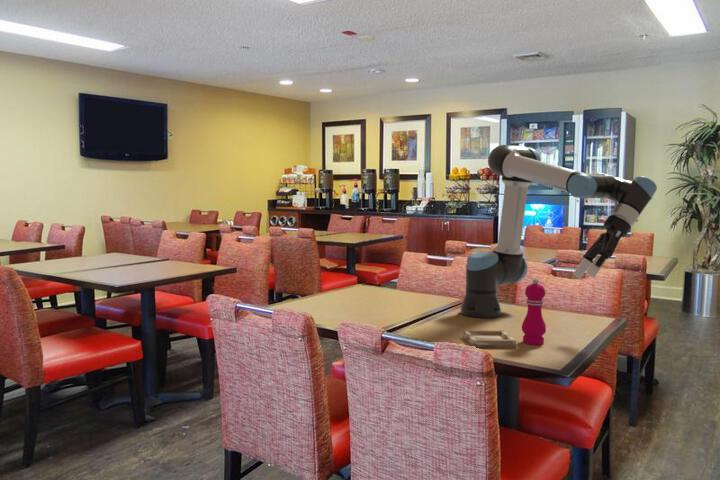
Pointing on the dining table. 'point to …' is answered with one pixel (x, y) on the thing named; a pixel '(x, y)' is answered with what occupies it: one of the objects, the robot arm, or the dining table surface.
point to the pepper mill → (534, 315)
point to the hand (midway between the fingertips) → (582, 276)
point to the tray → (489, 339)
